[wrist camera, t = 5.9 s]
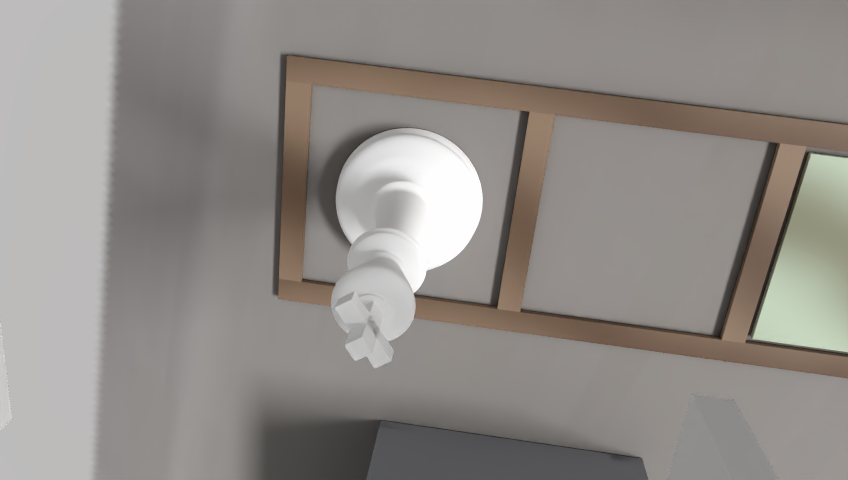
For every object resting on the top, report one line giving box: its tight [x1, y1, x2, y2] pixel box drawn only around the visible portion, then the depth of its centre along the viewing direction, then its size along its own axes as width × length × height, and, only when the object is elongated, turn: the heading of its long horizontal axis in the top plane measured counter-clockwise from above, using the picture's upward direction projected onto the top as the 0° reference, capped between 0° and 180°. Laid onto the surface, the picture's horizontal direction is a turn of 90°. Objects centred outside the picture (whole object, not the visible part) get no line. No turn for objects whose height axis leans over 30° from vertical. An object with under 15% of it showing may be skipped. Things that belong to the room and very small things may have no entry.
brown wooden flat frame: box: [278, 55, 848, 378], centre depth 24 cm, size 9×24×1 cm, turn 84°
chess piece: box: [331, 128, 482, 368], centre depth 20 cm, size 5×5×10 cm
